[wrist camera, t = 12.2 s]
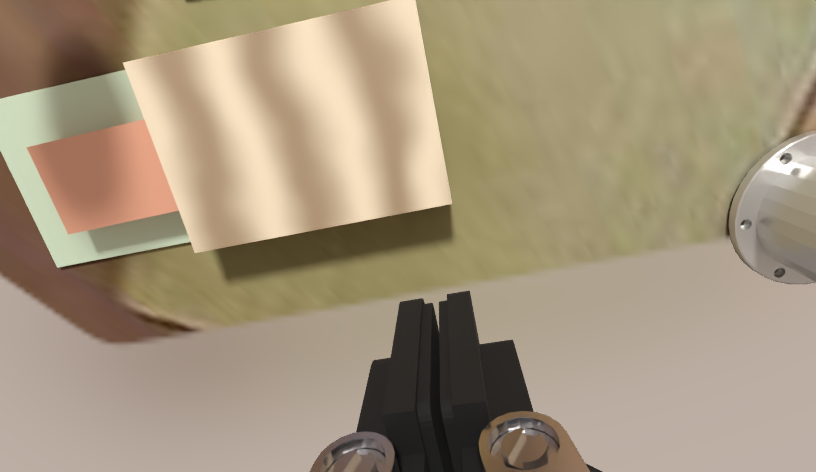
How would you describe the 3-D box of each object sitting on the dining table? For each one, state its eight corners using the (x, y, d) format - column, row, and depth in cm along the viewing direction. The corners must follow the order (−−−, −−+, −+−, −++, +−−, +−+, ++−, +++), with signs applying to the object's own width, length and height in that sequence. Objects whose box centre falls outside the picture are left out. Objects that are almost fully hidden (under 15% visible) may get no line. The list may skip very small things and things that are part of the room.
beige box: (414, 3, 34) (414, -6, 30) (449, 190, 38) (452, 203, 34) (154, 63, 35) (122, 62, 32) (216, 236, 40) (194, 253, 36)
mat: (148, 65, 36) (146, 65, 35) (210, 236, 40) (209, 238, 40) (-19, 103, 37) (-23, 103, 36) (59, 266, 41) (57, 267, 41)
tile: (168, 114, 36) (151, 117, 34) (200, 200, 39) (186, 208, 36) (51, 142, 37) (26, 147, 35) (89, 224, 40) (68, 234, 37)
